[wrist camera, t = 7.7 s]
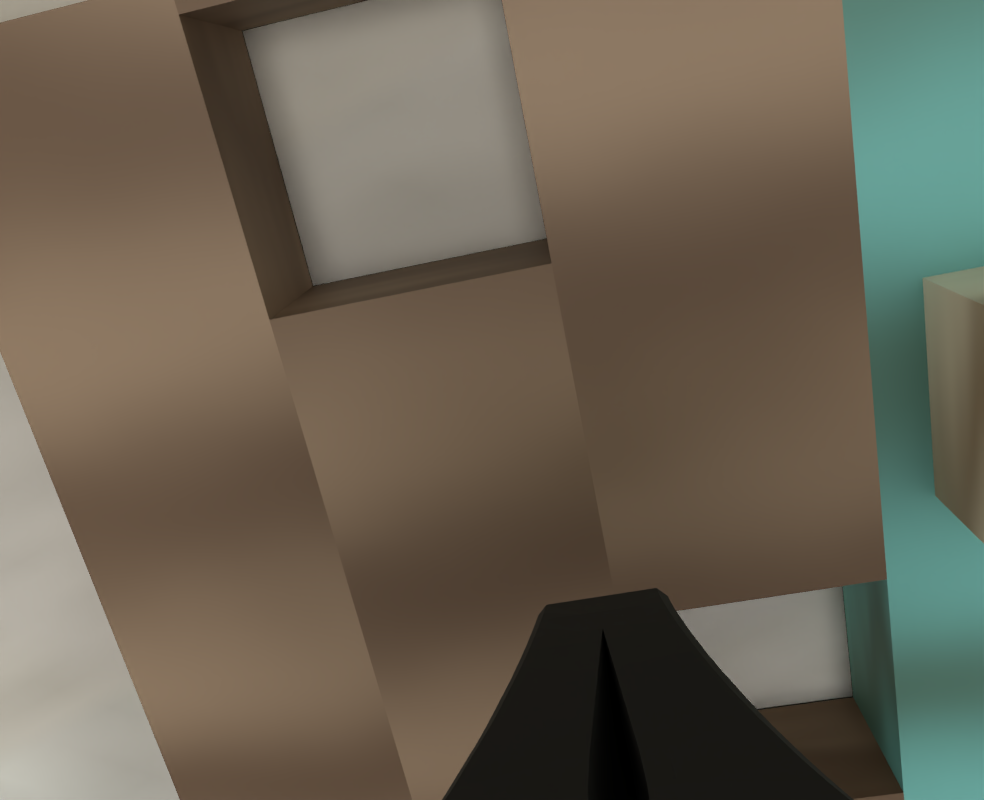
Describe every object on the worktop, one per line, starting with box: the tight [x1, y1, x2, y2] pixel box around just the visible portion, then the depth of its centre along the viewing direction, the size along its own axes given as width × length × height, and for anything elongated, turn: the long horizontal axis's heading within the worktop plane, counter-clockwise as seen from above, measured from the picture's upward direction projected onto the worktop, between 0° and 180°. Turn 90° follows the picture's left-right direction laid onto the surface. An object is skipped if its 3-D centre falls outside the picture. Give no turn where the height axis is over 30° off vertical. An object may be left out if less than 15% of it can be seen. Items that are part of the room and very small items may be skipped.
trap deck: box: [0, 0, 984, 800], centre depth 16 cm, size 18×22×6 cm
